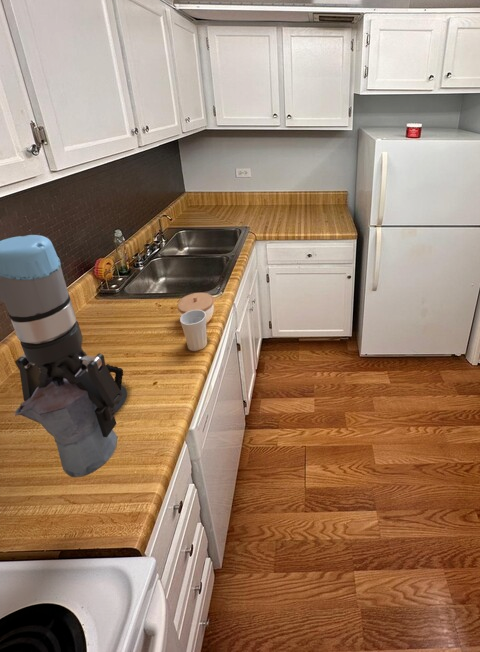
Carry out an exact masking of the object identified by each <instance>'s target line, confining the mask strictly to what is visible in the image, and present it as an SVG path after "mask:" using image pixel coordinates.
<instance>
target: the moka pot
mask: <svg viewBox="0 0 480 652" xmlns="http://www.w3.org/2000/svg"><path fill="white" fill-rule="evenodd" d="M105 365H106V366H107V368H108V370H109V372H110V373H113V374H115V375H114V380H115V382H116V384H117V386H118V387H119V389H120V391H121V385H122V384H123V376H124V369H123V368H121V367H118V366H114V365H110V364H109V363H107V364H105ZM80 371H81V369H80ZM80 371H79V372H78V373H77V374H76V375H75V377H76V376H77V375H78V374H79V373H80ZM38 387H39V386H38ZM38 387H37V388H36V390H35V391H34V393H33V395H32V397H31V398H29V399H28V400H26V401H23V402H22V403H21V404H20V405H19V406H18V408H16V410H15V411H14V416H15V417H16V416H22V417H24V418H25V419H28V420H32V421H33V422H36V423H38V424H40V425H41V426H42V427H43V428H44V430H45V431H46V432H47V433H48V434H49V435H50V436H52V437H53V438H54V442H55V443H56V447H57V453H58V455H59V459H60V463H61V467H62V470H63V472H64V473H65V474H66V475H67V476H68V477H70V478H83V477H85V476H86V477H87V476H89V475H91V474H93V473H94V472H96V471H97V470H99V469H100V468H102V467H104V465H106V464H107V463H108V462H109V460H110V459H111V458H112V457H113V455H114V453H115V451H116V450H117V447H118V435H117V433H116V432H115V430H114V429H112V431H111V432H110V434H109V435H108V437H103V435H102V432H101V429H100V426H99V423H98V420H97V417H96V414H95V410H96V408H97V406H96V405H95V404H94V403H93V402H92V401H91V400H90V399H89V396H88V392H87V391H85V390H81V389H80V388H79V387H78V386H77V385H76V384H74V385H72V384H70V383H69V382H68V381H67V380H66V379H64V378H61V377H53V378H52V382H51V383H50V384H49V385H47V387H43V388H38ZM118 403H119V401H118V402H117V403H116V405H117V404H118Z"/></svg>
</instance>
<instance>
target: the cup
mask: <svg viewBox="0 0 480 652" xmlns="http://www.w3.org/2000/svg"><path fill="white" fill-rule="evenodd" d="M179 323H180V325H181V328H182V331H183V335H184V338H185V342H186V345H187V349H188V350H189V351H193V352H196V351H199V350H203V349H204V348H206V346H207V344H208V335H207V333H208V332H207V323H206V313H205V312H204V311H202V310H191V311H188V312H186V313H184V314H183V315H182V316H181V317H180V318H179Z"/></svg>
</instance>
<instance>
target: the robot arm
mask: <svg viewBox="0 0 480 652" xmlns="http://www.w3.org/2000/svg"><path fill="white" fill-rule="evenodd" d="M0 302H3V304H4V306H5V308H6V311H7V314H8V318H9V319H10V322H11V325H12V328H13V330H14V332H15V335H16V338H17V339H18V341H19V342H20V346H21V348H22V351H23V354H22V355H20V356H19V357H18V358H17V359H15V361H14V363H15V365H16V367H17V368H18V371H19V375H20V376H19V377H20V382H21V390H22V398H23V402H25V401H26V400H28V399H29V398H31V397H32V395H33V393H34V391H35V390H36V388H37V387H38V386H39V387H38V388H43V387H47V385H49V384H50V383H51V382H52V378H53V377H61V378H64V379H66V380H67V381H68V382H69V383H70V384H72V385H74V384H76V385H77V386H78V387H79V388H80V389H81V390H85V391H87V392H88V396H89V399H90V400H91V401H92V402H93V403H94V404H95V405H96V406H97V408H96V410H95V414H96V417H97V420H98V423H99V426H100V429H101V432H102V435H103V437H108V435H109V434H110V432H111V431H112V430H114V428H115V426H116V425H117V421H116V418H115V415H116V414H117V412H116V411H115V408H114V406H115V405H116V403H117V402H118V401H119V399H120V398H121V397H122V393H121V391H120V389H119V387H118V386H117V384H116V382H115V378H114V377H113V375H112V374H111V373H112V372H111V373H110V372H109V370H108V368H107V366H106V365H107V364H106V360H105V355H104V354H102V353H97V354H96V355H95V356H91V355H87V353H86V352H85V351H84V349H83V348H82V346H83V339H84V336H83V333H82V330H81V327H80V325H79V322H78V320H77V315H76V312H75V309H74V306H73V303H72V299H71V296H70V294H69V291H68V287H67V283H66V280H65V277H64V272H63V269H62V263H61V259H60V258H59V257H58V254H57V252H56V249H55V247H54V245H53V243H52V241H51V239H49V238H48V237H46V236H44V235H40V234H27V235H22V236H21V235H18V236H13V237H8V238H5V239H2V240H0ZM80 369H81V371H80ZM79 371H80V373H79V374H78V375H77V376H76V377H75V375H76V374H77V373H78V372H79ZM103 399H104V400H103Z"/></svg>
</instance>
